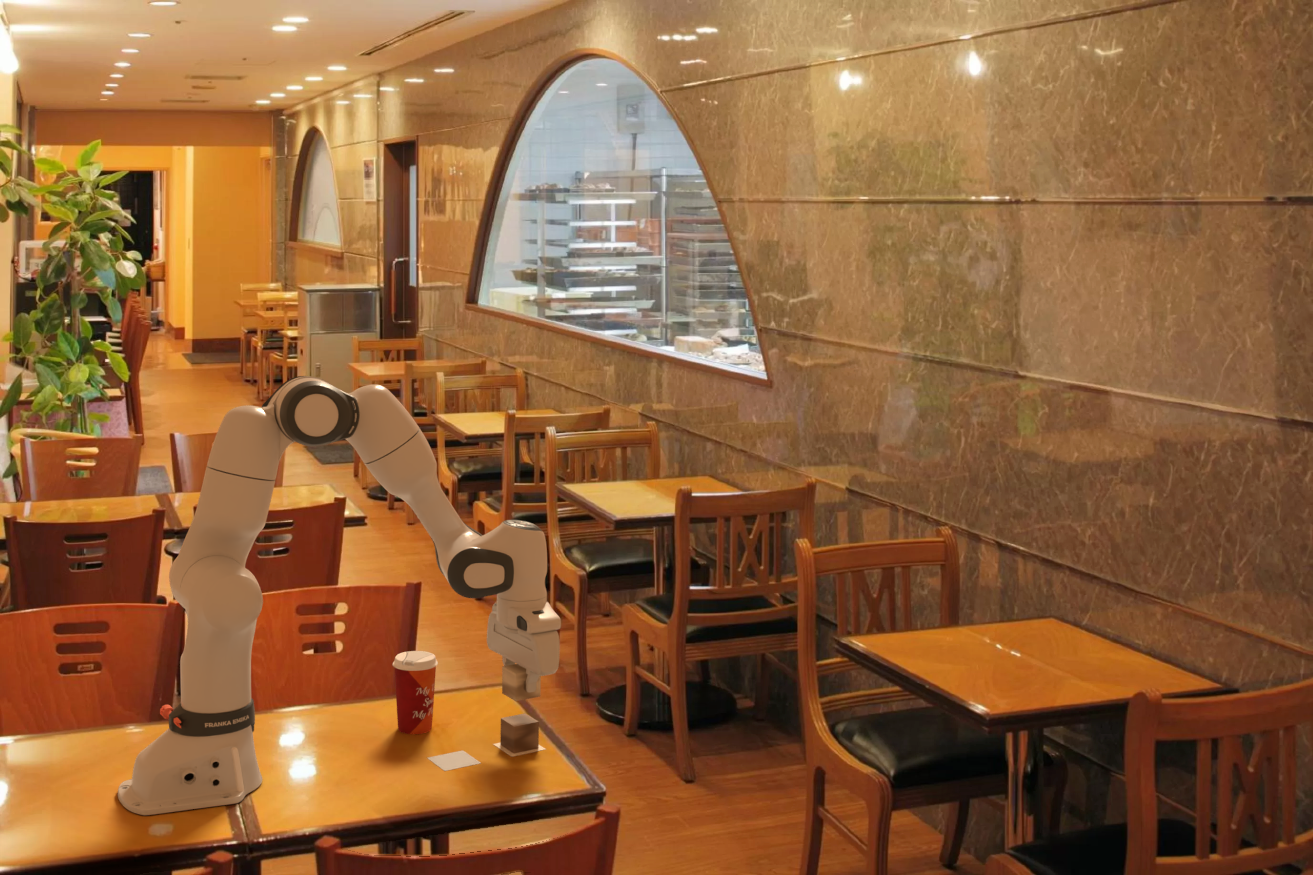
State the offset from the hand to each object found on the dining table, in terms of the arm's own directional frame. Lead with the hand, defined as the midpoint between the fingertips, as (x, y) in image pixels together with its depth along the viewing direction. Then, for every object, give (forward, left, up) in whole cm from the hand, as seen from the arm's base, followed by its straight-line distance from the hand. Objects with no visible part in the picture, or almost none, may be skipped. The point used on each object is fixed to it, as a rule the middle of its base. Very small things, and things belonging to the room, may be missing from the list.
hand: (520, 686), depth 240 cm
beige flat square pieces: (-6, 0, -12) cm, 14 cm away
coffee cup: (-12, +18, -13) cm, 25 cm away
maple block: (0, 0, -2) cm, 2 cm away
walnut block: (0, 0, -11) cm, 11 cm away
